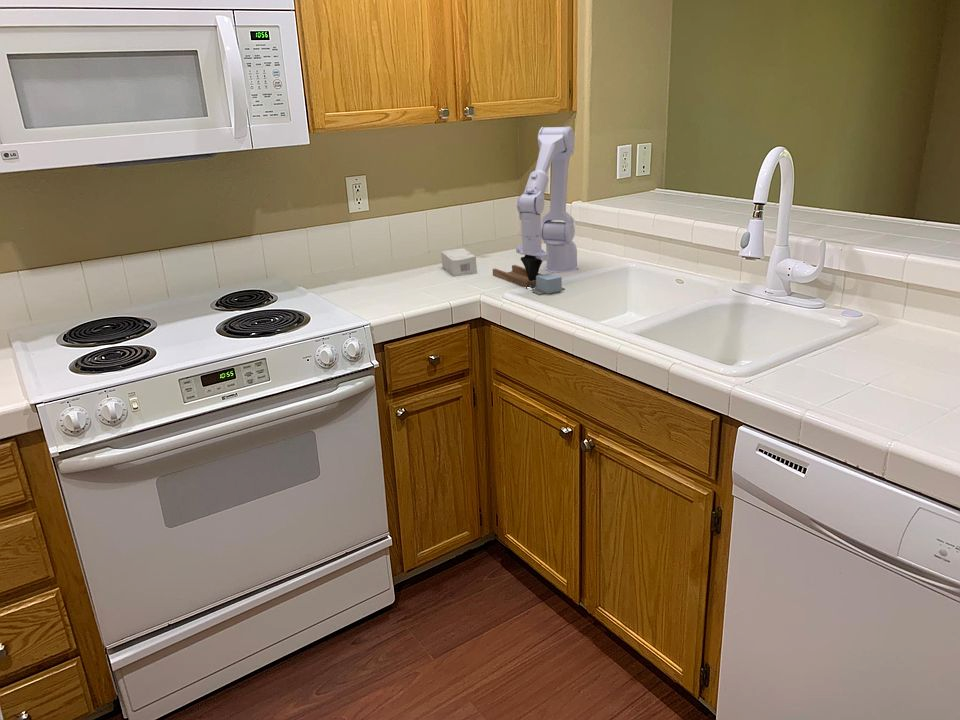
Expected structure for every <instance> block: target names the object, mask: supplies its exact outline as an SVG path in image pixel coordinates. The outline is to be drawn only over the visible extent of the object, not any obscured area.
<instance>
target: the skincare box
mask: <svg viewBox="0 0 960 720" xmlns="http://www.w3.org/2000/svg"><path fill="white" fill-rule="evenodd" d="M440 253H441V267H442V269H444V270H445V271H447V272H448V273H449V274H450V275H451V276H453V277H460V276H466V275H474V274H478V266H477V258H476V257H477V256H476V255H474V254H473V253H471V252H470V251H469V250H467V249H465V248H464V247H463V248H462V247H461V248H454V249H448V250H447V249H446V250H442V251H441V252H440Z"/></svg>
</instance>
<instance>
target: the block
mask: <svg viewBox="0 0 960 720" xmlns="http://www.w3.org/2000/svg"><path fill="white" fill-rule="evenodd" d="M562 278H563V277H562V276H560V275H557V274H555V273H552V272H550V273H545V274H544V273H543V275H538V276H536V289H537V290H540V291H543V292H545V293H547V294H552V293H556V292H557V293H558V292H561V291H563V290H562V288H563V287H562V285H563V283H562V282H563V279H562Z"/></svg>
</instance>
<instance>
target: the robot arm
mask: <svg viewBox="0 0 960 720" xmlns="http://www.w3.org/2000/svg"><path fill="white" fill-rule="evenodd" d="M575 139H576V136H575V132H574V130H573V128H572V127H571V126H555V127H554V126H552V127H551V126H550V127H548V126H542V127H541V128H540V129H539V131H538V134H537V145H538V149H539V152H538V157H537V162H536V164H535V169H534V171H532V172H530V173H529V176H528V179H527V183H526V185H525V189H524V192H523V193H522V194H521V195H519V197H518V198H517V204H516V209H517V212H518V218H519V220H520V224H521V225H520V226H521V227H520V228H521V229H520V230H521V245H517V246H516V247H515V252H516V254H519V255H521V257H520V261H521V263H522V264H523V266H524V268H525V269H526V272H527V276H528V279H529V280H530V281H534V280H536V276H538V273H539V272H540V268H541V270H544V271H548V272H550V273H551V274H558V273H562V272H568V271H569V272H570V271H573V270H579V267H578V249H577V245H576V243H575V242H574V241H573V239H574V238H575V233H576V232H575V231H576V230H575V224H574V223H575V222H574V221H575V219H574V217H573V216H572V215H570V214H569V213H568V211H567V210H566V209H567V196H568V194H567V193H568V179H569V178H568V177H569V164H570V157H571V156H573V155H574V150H575V141H576V140H575ZM551 165H552V168H551V169H552V170H551V185H550V186H551V187H550V202H549V203H550V204H549V211H548V212H547V213H545V215H544V216H542V215H541V214H542V213H543V211H544V208H545V198H546V197H545V192H546V189H547V186H548V183H549V180H550V179H549V176H548V172H549V169H550V167H551ZM541 216H542V218H541ZM542 241H543V243H544V244H545V251H546V252H545V251H544V249H542ZM522 255H523V256H522ZM543 262H546V266H543V267H541V265H542V264H543Z"/></svg>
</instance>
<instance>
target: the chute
mask: <svg viewBox="0 0 960 720" xmlns="http://www.w3.org/2000/svg"><path fill="white" fill-rule="evenodd" d="M543 274H544V273H543ZM543 274H542V273H539V272H538V275H543ZM492 276H493V277H495V278H499V279H501V280H504V281H506V282H509V283H511V284H514V285H516V286H519V287H522V288H524V287H526V288H525V289H527V287H530V285H533V284H536V280H534V281H530V280H529V279H528V276H527V272H526V269H525V267H523V266H519V265H517V264H512V265H511V271H508V272H506V271H504V270H501V269H498V268H492ZM533 286H534V285H533ZM534 288H535V287H534ZM565 290H566V288H565V287H562V291H565ZM529 291H530V292H531V293H533V294H535V295H537V296H543V295H547V294H548V293H545V292H543V291H540V290H537V289H536V288H535V289H532V290H529Z"/></svg>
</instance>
